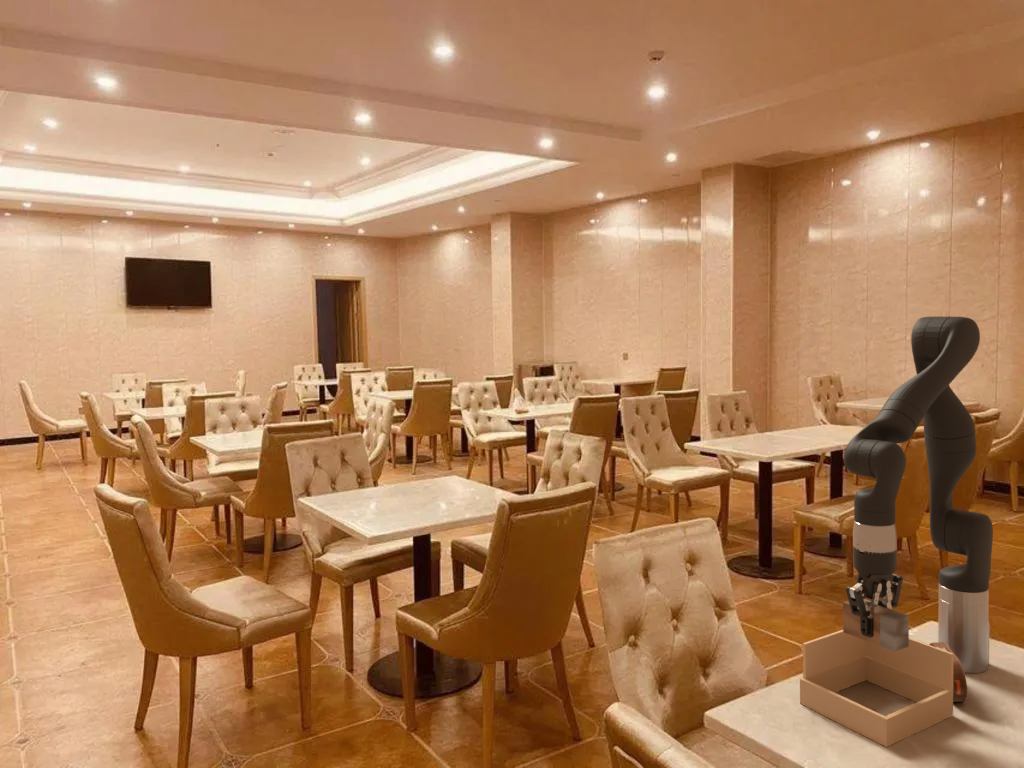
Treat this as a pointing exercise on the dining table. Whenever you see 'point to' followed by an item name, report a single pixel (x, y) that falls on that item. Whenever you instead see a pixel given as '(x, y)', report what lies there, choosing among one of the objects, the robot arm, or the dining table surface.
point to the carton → (902, 672)
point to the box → (880, 627)
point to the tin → (955, 675)
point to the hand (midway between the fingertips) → (875, 632)
